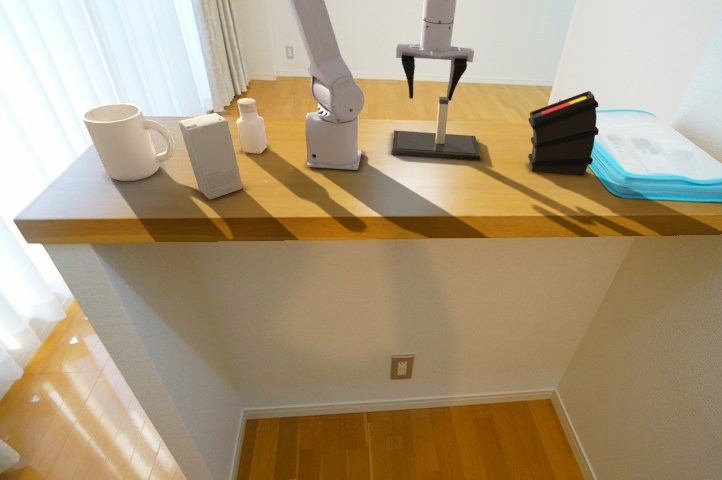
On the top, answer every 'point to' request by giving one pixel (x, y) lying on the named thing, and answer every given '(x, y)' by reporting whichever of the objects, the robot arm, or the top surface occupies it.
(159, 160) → the mug
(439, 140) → the cream rectangular bar
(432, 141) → the tray
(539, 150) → the magazine
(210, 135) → the cosmetic box
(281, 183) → the top surface
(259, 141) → the pepper shaker
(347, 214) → the top surface
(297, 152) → the top surface
